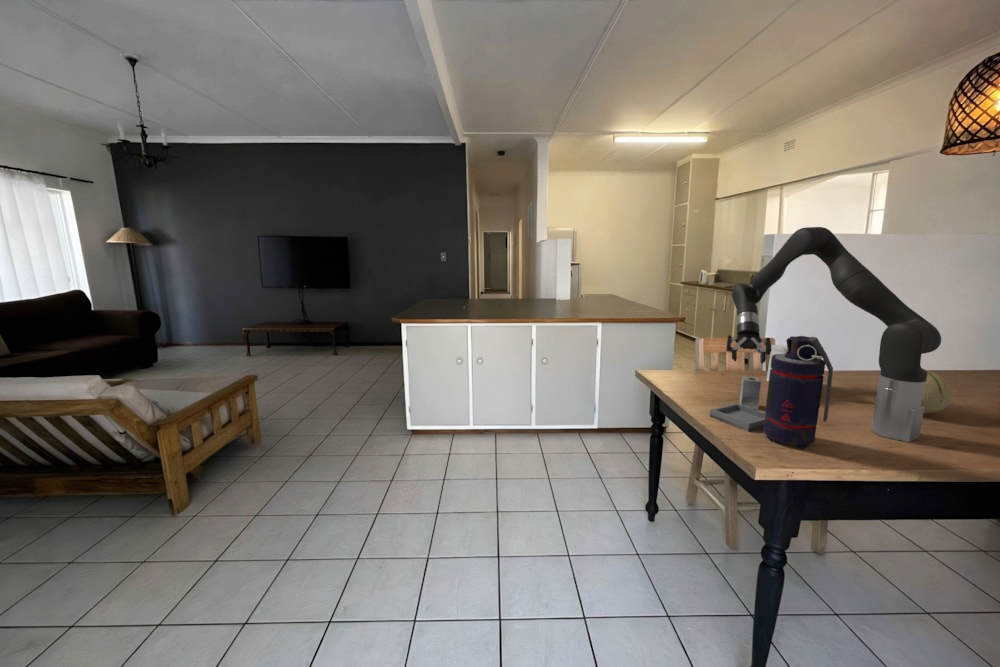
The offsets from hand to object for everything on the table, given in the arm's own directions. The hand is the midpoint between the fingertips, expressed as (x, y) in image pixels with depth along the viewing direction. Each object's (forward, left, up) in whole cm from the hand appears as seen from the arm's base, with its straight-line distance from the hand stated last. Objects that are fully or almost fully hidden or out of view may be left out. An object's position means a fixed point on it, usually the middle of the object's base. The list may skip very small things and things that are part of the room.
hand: (748, 361), depth 144 cm
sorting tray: (-13, +22, -14) cm, 29 cm away
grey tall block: (-6, +8, -14) cm, 17 cm away
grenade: (-29, +23, -14) cm, 40 cm away
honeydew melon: (-34, -35, -14) cm, 51 cm away
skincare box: (-1, -25, -14) cm, 29 cm away
